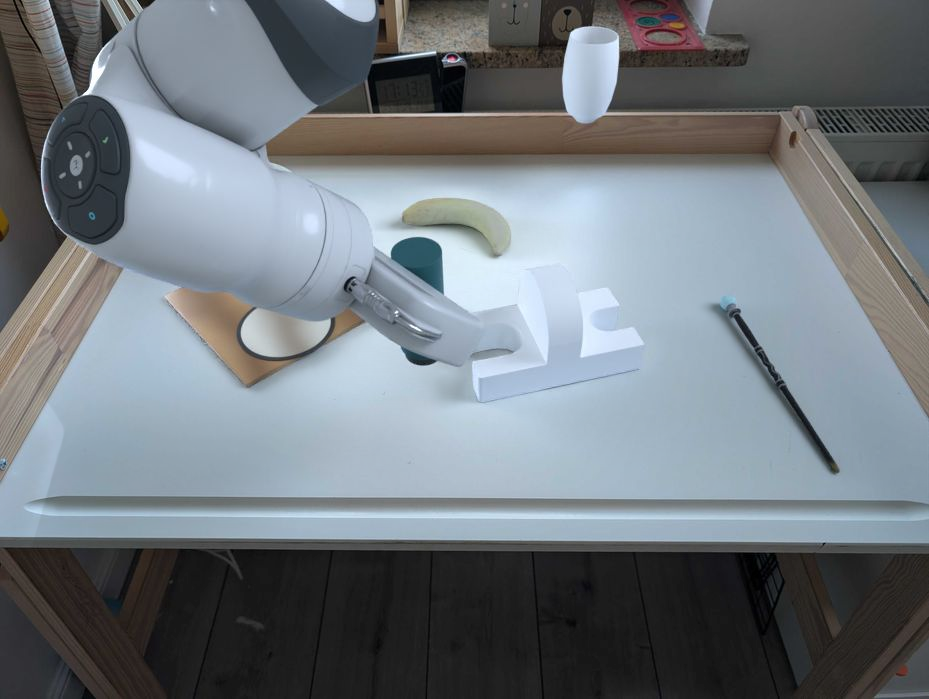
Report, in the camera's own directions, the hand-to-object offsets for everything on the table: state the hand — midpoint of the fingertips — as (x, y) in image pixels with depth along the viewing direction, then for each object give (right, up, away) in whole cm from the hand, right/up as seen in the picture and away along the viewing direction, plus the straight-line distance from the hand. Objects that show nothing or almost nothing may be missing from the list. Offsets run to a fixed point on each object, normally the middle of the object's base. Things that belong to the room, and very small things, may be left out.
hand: (425, 298), depth 60 cm
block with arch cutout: (+12, -5, +20) cm, 24 cm away
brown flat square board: (-19, +1, +27) cm, 33 cm away
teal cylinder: (0, -5, +4) cm, 6 cm away
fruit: (+2, +11, +37) cm, 38 cm away
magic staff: (+36, -8, +17) cm, 40 cm away
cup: (+20, +21, +46) cm, 54 cm away
